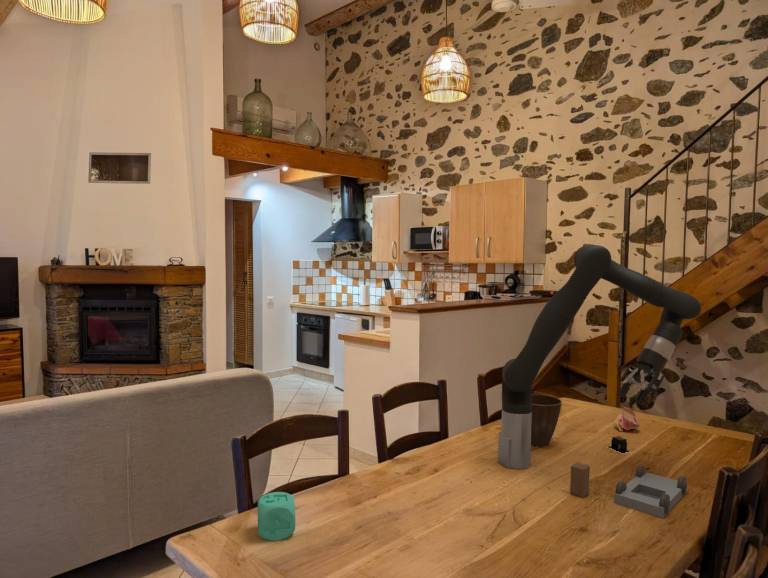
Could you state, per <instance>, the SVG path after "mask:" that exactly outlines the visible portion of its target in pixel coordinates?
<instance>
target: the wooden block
mask: <svg viewBox="0 0 768 578" xmlns="http://www.w3.org/2000/svg"><path fill="white" fill-rule="evenodd" d="M590 468H591V467H590V465H588V464H584V463H580V462H574V464H572V465H571V466H570V484H569V486H570V487H569V493H570V494H571V495H574V496H577V497H579V498H580V497H581V498H585V497H586V496H587V495H588V494H589V493H590V473H591V470H590Z"/></svg>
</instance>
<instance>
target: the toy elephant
mask: <svg viewBox="0 0 768 578" xmlns="http://www.w3.org/2000/svg"><path fill="white" fill-rule="evenodd" d="M613 424H614V427H615V428H616V429H618V430H619V431H620V432H621V431H623V428H624V430H626V431H631V430H630V429H639V428H640V422H639V420H638V418H637V417H636V414H635V412H634V410H632V409H630V408H628V407H623V409H622V410H621V413H618V415H617V416H616V418H615V420H614V421H613Z"/></svg>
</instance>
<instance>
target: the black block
mask: <svg viewBox="0 0 768 578" xmlns="http://www.w3.org/2000/svg"><path fill="white" fill-rule="evenodd" d="M611 438H612V439H611V444H610V445H611V446H608V447H609V448H612V449H614V450H616V451H619V452H621V453H625V452H629V451H630V450H629V449H628V442H627V439H626V438H624V437H622V436H620V435H617V436H612V437H611ZM609 448H608V449H609Z"/></svg>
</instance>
